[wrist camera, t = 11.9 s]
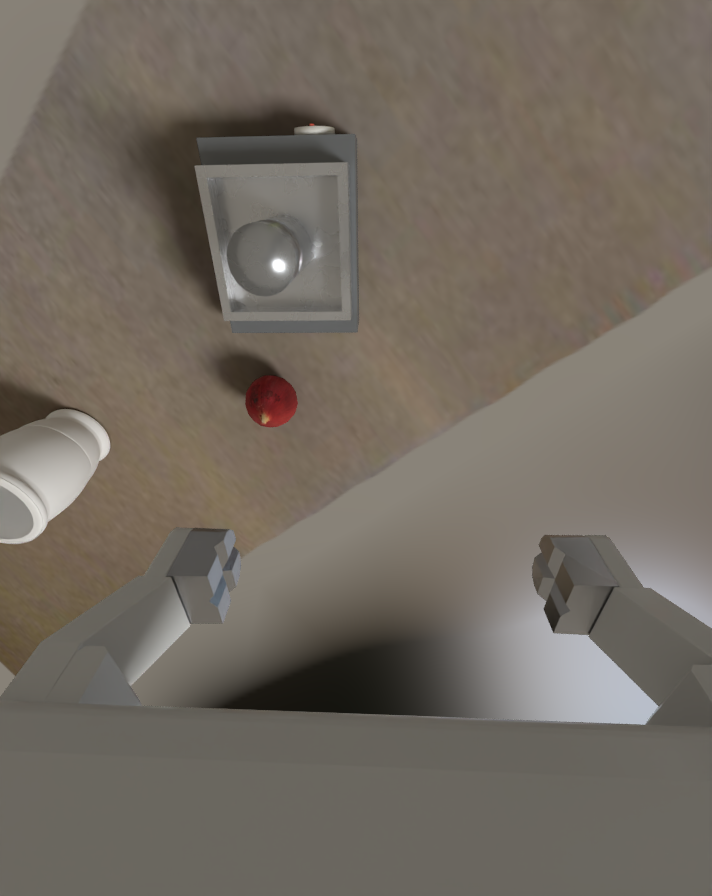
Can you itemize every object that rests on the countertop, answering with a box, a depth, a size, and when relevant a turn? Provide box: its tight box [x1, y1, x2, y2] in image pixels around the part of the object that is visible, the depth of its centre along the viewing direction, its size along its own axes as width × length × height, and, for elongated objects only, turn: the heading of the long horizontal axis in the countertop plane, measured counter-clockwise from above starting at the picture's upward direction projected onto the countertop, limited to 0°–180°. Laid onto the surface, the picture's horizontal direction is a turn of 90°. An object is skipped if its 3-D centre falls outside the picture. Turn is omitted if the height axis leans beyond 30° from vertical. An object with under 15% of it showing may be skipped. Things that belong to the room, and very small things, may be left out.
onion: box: [245, 375, 298, 427], centre depth 45 cm, size 6×6×8 cm
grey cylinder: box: [227, 216, 311, 297], centre depth 32 cm, size 5×5×9 cm
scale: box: [196, 124, 359, 333], centre depth 38 cm, size 13×17×4 cm
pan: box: [195, 162, 352, 321], centre depth 35 cm, size 12×12×3 cm
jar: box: [0, 409, 110, 544], centre depth 47 cm, size 11×10×15 cm
